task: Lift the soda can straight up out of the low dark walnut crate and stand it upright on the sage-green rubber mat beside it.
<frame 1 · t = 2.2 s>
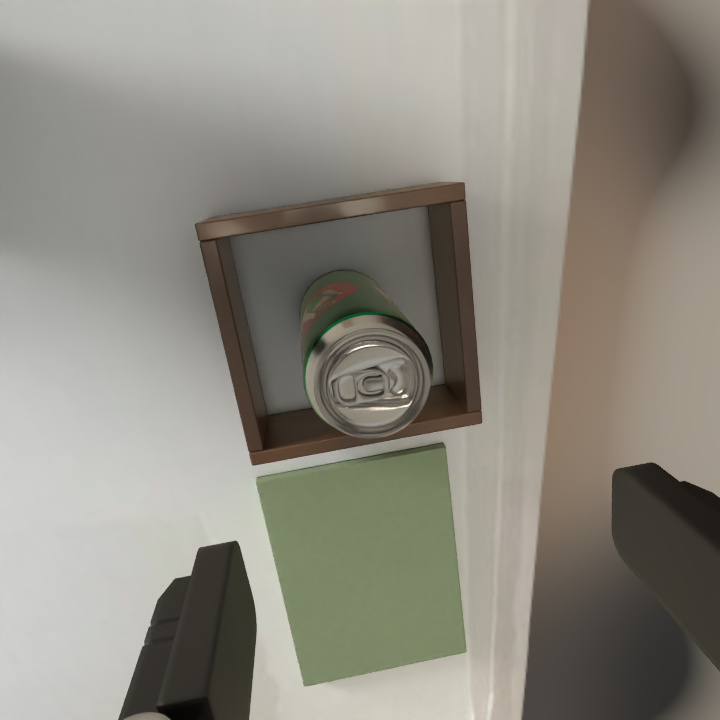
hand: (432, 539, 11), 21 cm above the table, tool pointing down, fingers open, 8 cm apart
crate: (343, 312, 31), on the table
mat: (369, 568, 37), on the table
soda can: (343, 311, 31), resting in crate
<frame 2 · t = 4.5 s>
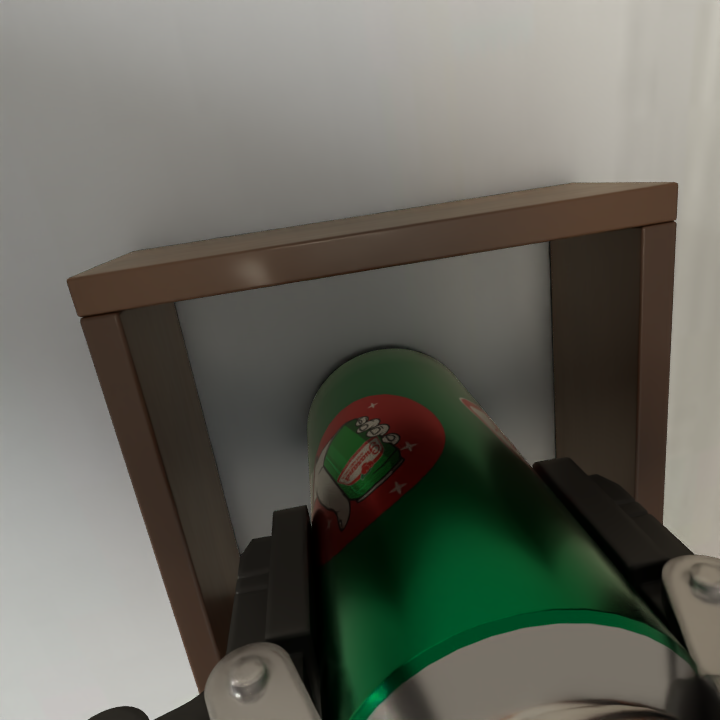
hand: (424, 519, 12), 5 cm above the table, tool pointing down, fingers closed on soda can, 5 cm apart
crate: (386, 419, 17), on the table
soda can: (385, 416, 17), resting in crate, touching gripper
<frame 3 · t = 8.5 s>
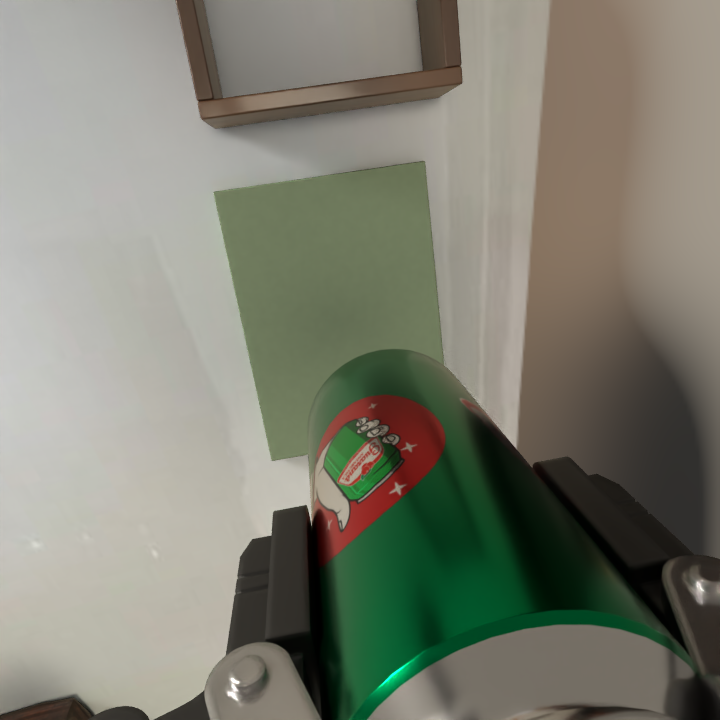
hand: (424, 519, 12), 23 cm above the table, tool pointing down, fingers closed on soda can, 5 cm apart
mat: (342, 319, 34), on the table
soda can: (385, 417, 17), point 17 cm above the table, touching gripper
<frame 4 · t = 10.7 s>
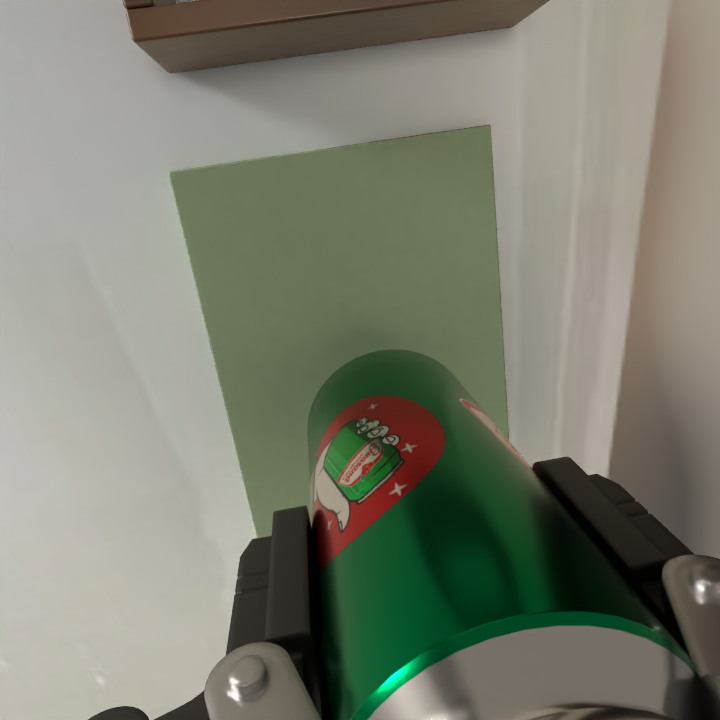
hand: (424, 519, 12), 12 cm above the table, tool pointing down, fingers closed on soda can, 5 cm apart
mat: (362, 359, 23), on the table
soda can: (385, 417, 17), point 6 cm above the table, touching gripper
when the fingers open (6 cm above the table, at t = 12.5 s): soda can stays where it is, resting on mat.
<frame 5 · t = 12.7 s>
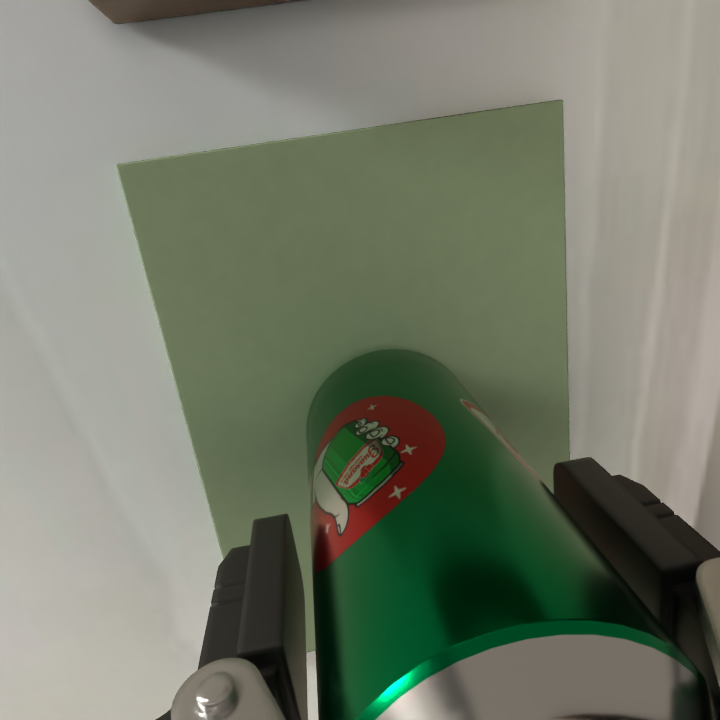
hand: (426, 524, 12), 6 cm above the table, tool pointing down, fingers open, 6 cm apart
mat: (383, 413, 18), on the table
soda can: (385, 417, 17), resting on mat
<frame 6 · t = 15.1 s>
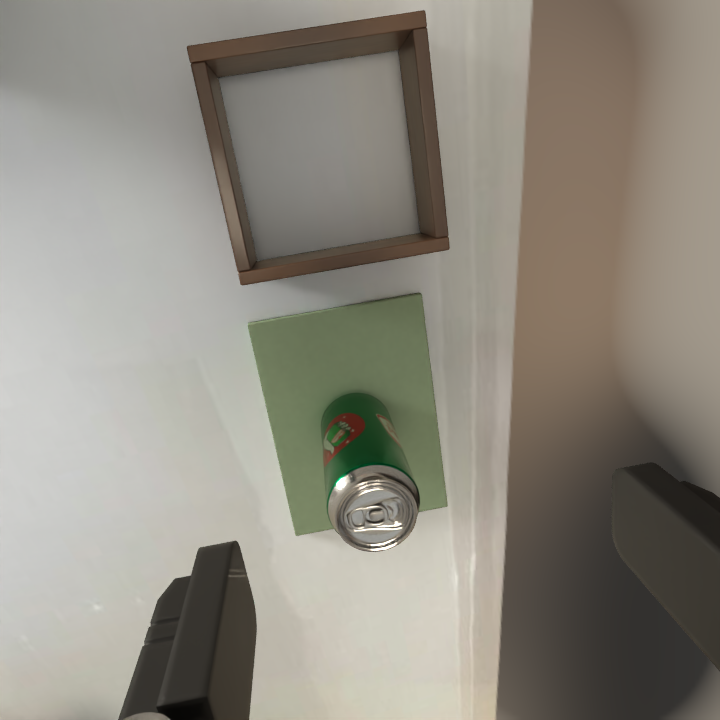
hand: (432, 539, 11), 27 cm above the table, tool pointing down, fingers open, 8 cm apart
crate: (324, 159, 34), on the table
mat: (354, 419, 40), on the table
soda can: (354, 421, 39), resting on mat
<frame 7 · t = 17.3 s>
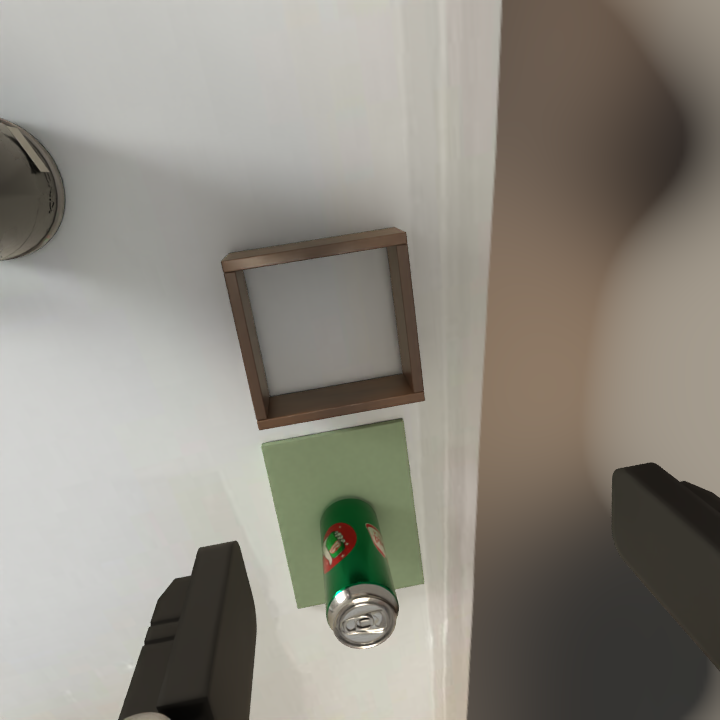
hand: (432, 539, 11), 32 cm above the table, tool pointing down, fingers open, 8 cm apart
crate: (326, 320, 43), on the table
mat: (347, 515, 48), on the table
soda can: (348, 518, 48), resting on mat
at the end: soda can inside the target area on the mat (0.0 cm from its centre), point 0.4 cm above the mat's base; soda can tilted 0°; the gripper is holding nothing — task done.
